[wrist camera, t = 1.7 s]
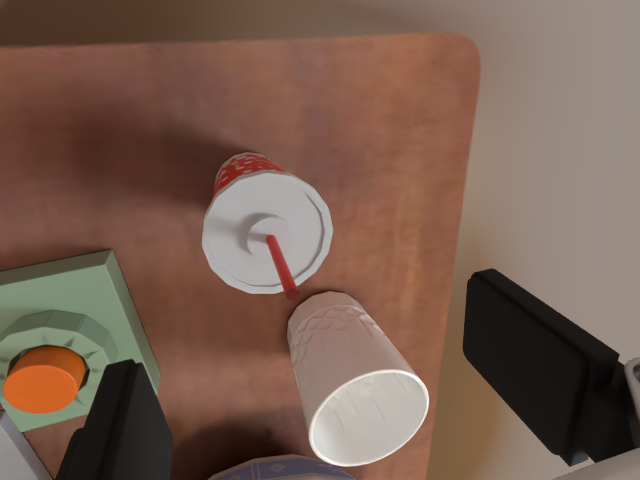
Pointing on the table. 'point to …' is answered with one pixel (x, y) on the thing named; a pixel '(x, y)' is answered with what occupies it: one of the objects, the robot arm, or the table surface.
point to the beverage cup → (264, 227)
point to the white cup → (352, 382)
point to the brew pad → (70, 325)
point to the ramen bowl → (284, 469)
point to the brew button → (44, 380)
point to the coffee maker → (18, 454)
